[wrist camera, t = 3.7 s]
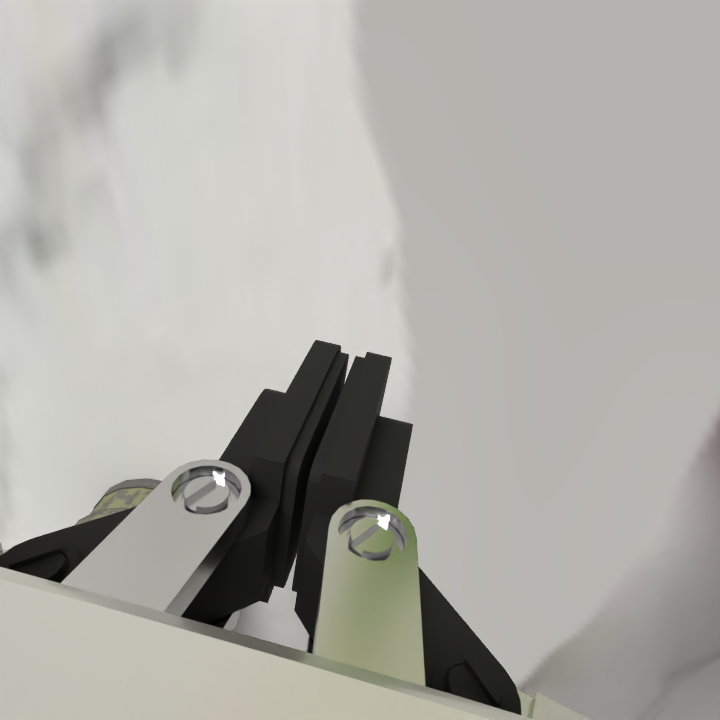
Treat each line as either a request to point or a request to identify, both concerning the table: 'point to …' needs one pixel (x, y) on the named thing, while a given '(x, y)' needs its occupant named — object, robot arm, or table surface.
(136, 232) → the table surface
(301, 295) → the table surface
